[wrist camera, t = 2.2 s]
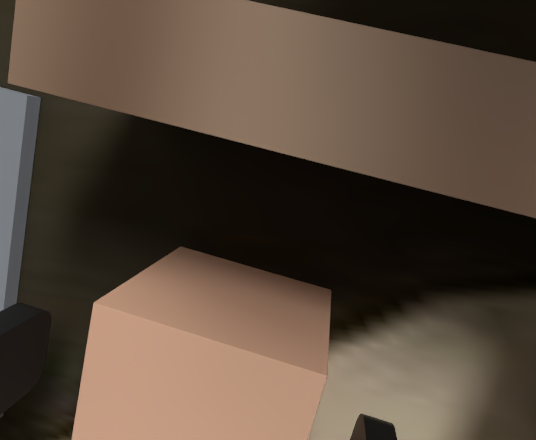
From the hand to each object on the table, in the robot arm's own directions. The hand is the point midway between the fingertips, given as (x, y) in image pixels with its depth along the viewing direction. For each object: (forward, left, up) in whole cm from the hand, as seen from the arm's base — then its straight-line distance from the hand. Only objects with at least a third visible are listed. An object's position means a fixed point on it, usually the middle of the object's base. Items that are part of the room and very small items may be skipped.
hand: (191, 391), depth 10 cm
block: (0, 0, -4) cm, 4 cm away
